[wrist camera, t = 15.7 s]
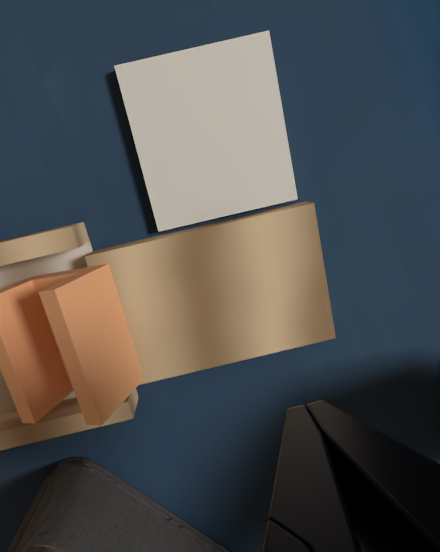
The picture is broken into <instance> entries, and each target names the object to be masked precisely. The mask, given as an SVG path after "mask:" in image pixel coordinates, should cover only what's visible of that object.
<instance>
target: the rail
mask: <svg viewBox="0 0 440 552" xmlns="http://www.w3.org/2000/svg"><path fill="white" fill-rule="evenodd" d="M104 264H109V267H110V270H111V274H112V277H113V280H114V283H115V287H116V290H117V293H118V296H119V300H120V303H121V306H122V309H123V313H124V316H125V319H126V322H127V326H128V329H129V332H130V335H131V339H132V342H133V345H134V348H135V352H136V355H137V358H138V361H139V365H140V368H141V371H142V374H143V378H144V379H143V381H142V382H141V383H140V384H139V385H141V384H145V383H149V382H153V381H157V380H162V379H166V378H170V377H174V376H179V375H183V374H187V373H191V372H195V371H200V370H204V369H208V368H212V367H216V366H221V365H225V364H229V363H233V362H237V361H242V360H246V359H250V358H254V357H258V356H263V355H267V354H271V353H275V352H279V351H284V350H288V349H292V348H296V347H300V346H305V345H309V344H313V343H317V342H321V341H326V340H330V339H334V338H336V336H335V330H334V324H333V318H332V312H331V305H330V299H329V293H328V287H327V280H326V274H325V268H324V262H323V255H322V249H321V243H320V237H319V231H318V224H317V218H316V212H315V206H314V203H311V202H306V201H305V202H300V203H296V204H292V205H288V206H283V207H279V208H275V209H270V210H266V211H262V212H258V213H253V214H249V215H245V216H240V217H236V218H232V219H228V220H223V221H219V222H215V223H210V224H206V225H202V226H198V227H193V228H189V229H185V230H180V231H176V232H172V233H168V234H163V235H159V236H155V237H150V238H146V239H142V240H138V241H133V242H129V243H125V244H120V245H116V246H112V247H108V248H103V249H99V250H95V251H93V250H92V247H91V244H90V240H89V237H88V234H87V231H86V228H85V224H84V222H81V223H76V224H72V225H68V226H63V227H59V228H55V229H50V230H46V231H42V232H38V233H33V234H29V235H25V236H20V237H16V238H12V239H7V240H3V241H0V290H1V289H4V288H6V287H9V286H11V285H14V284H16V283H18V282H21V281H23V280H26V279H28V278H31V277H33V276H36V275H42V274H48V273H54V272H61V271H67V270H73V269H79V268H85V267H91V266H98V265H104ZM138 398H139V397H138V394H137V391H136V388H135V389H134V390H133V392H132V393H131V394H130V395H129V396H128V397H127V398H126V399H125V400H124V401H123V403H122V404H121V405H120V406H119V407H118V408H117V409H116V410H115V411H114V412H113V414H112V415H111V416H110V417H109V418H108V419H107V420H106V421H105V422H104V423H103V425H86V422H85V419H84V417H83V414H82V411H81V408H80V406H79V403H78V400H77V397H76V395H75V392H74V391H72V392H71V393H70V394H69V395H68V396H66V397H65V398H64V399H63V400H62V401H61V402H59V403H58V404H57V405H56V406H55V407H54V408H53V409H51V410H50V411H49V412H48V413H47V414H46V415H44V416H43V417H42V418H41V419H40V420H39V421H38V422H36V423H22V421H21V418H20V416H19V413H18V411H17V409H16V406H15V404H14V401H13V399H12V396H11V394H10V391H9V389H8V387H7V384H6V382H5V379H4V377H3V374H2V372H1V369H0V450H5V449H9V448H13V447H17V446H21V445H26V444H30V443H34V442H38V441H42V440H46V439H51V438H55V437H59V436H63V435H67V434H72V433H76V432H80V431H84V430H88V429H93V428H97V427H101V426H105V425H109V424H113V423H118V422H122V421H126V420H130V419H133V417H134V414H135V410H136V406H137V402H138Z"/></svg>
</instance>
